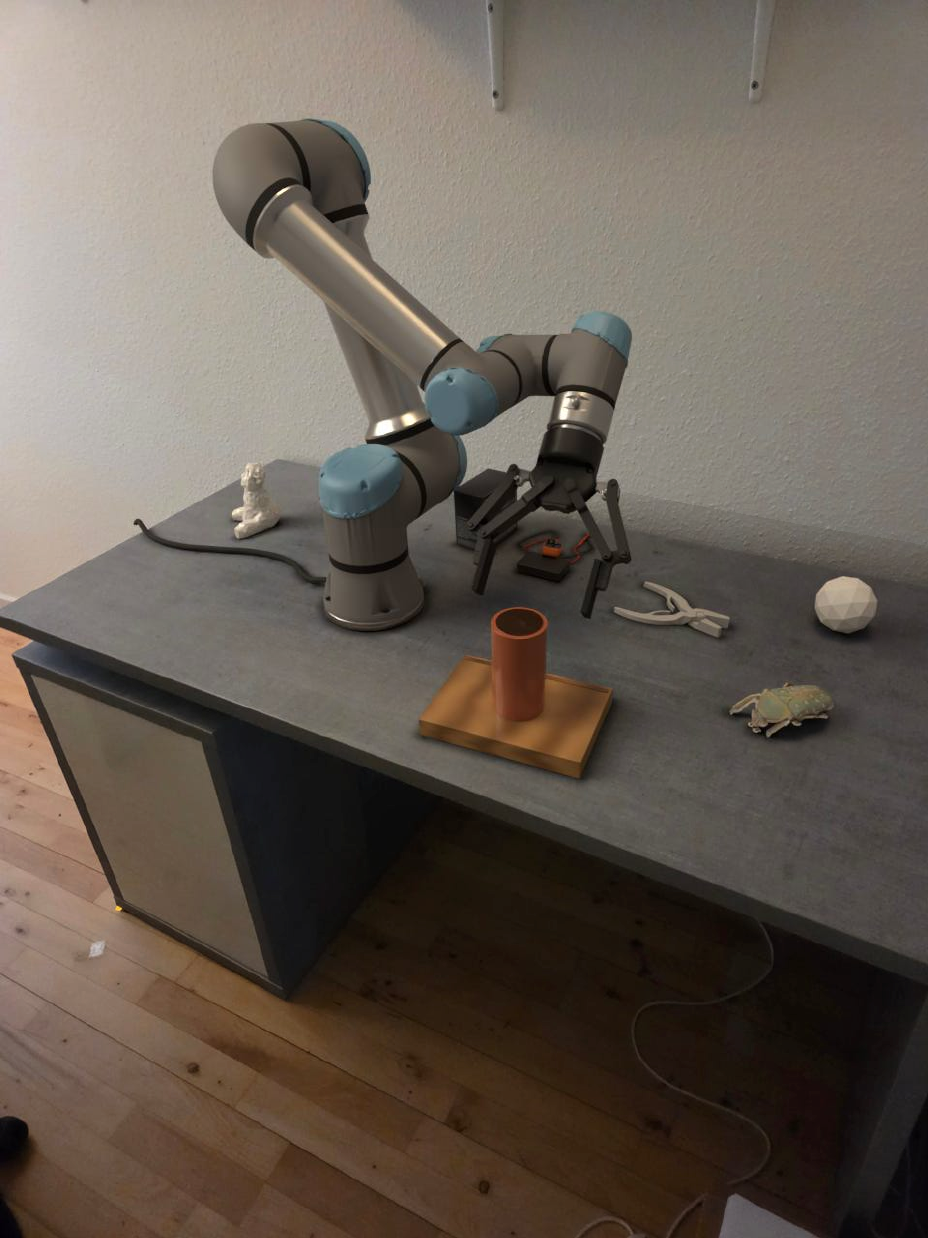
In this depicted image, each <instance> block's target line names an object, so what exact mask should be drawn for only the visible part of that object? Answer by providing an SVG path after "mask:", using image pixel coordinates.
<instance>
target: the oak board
mask: <svg viewBox="0 0 928 1238" xmlns="http://www.w3.org/2000/svg"><path fill="white" fill-rule="evenodd" d="M613 692H614V691H613V688H612V687H607V686H603V685H599V684H594V683H590V682H585V681H582V680H578V679H573V678H568V677H565V676H560V675H555V674H552V673H547V672H546V687H545V707H544V710H543V711H542V713H541V714H540V715H539V716H537V717H535V718H533V719H530V720H527V721H512V720H508V719H505V718H503V717H501V716H499V715H498V714H497V713H496V712H495V711H494V709H493V706H492V659H486V658H483V657H478V656H474V655H469V654H464V655H463V657H462V658H461V660H460V661H459V662H458V664H457V665H456V666H455V668H454V669H453V671H452V672H451V673H450V675H449V676H448V678H447V679H446V681H445V682H444V683H443V685H442V686H441V688H440V689H439V690H438V691H437V693H436V694H435V696H434V697H433V699H432V700H431V701H430V703H429V704H428V706H427V707H426V709H424V711H423V713H422V714H421V716H420V717H419V718H418V725H419V735H420V736H424V737H427V738H431V739H434V740H439V741H441V742H445V743H448V744H449V743H450V744H452V745H456V746H460V747H463V748H468V749H470V750H474V751H478V752H481V753H485V754H489V755H492V756H495V757H500V758H503V759H507V760H510V761H514V762H518V763H522V764H524V765H527V766H532V767H536V768H540V769H543V770H547V771H550V772H554V773H557V774H560V775H564V776H567V777H572V778H576V779H581V776H582V774H583V771H584V769H585V768H586V765H587V762H588V760H589V757H590V755H591V753H592V750H593V748H594V746H595V743H596V741H597V739H598V736H599V734H600V731H601V729H602V727H603V724H604V722H605V720H606V717H607V715H608V713H609V710H610V708H611V706H612V701H613Z"/></svg>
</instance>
